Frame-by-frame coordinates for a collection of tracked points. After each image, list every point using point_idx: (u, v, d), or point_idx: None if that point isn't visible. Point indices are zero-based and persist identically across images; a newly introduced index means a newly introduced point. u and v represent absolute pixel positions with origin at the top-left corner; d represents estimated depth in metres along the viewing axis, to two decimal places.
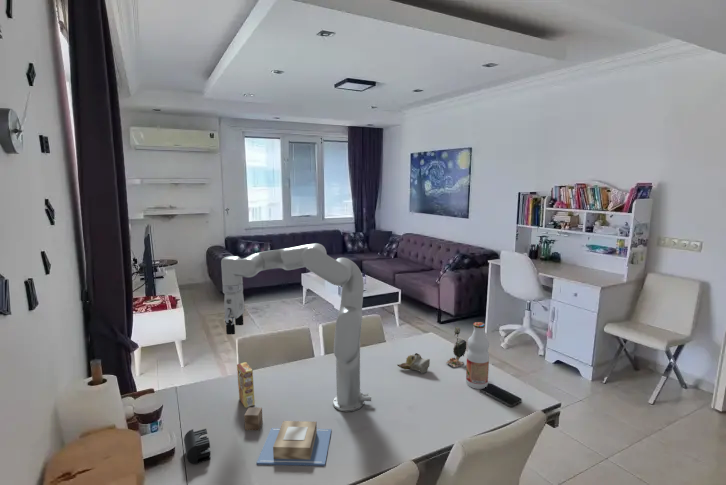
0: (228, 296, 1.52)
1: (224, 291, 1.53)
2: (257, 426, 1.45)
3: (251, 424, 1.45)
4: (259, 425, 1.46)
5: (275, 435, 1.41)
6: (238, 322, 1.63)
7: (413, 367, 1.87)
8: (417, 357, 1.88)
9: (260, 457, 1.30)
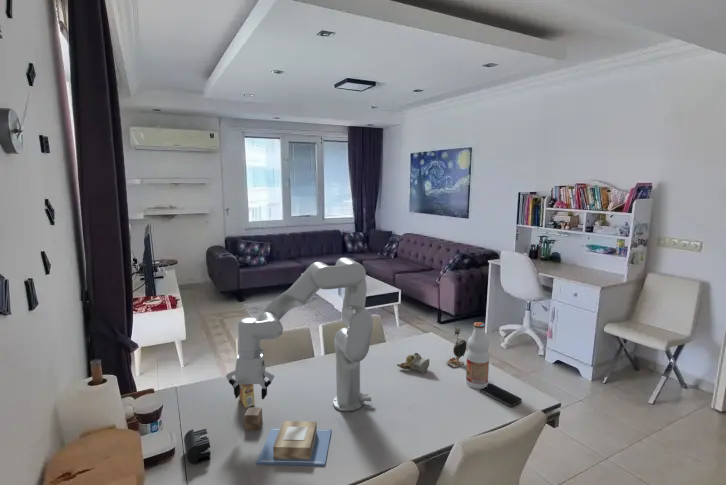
0: (262, 358, 1.43)
1: (255, 357, 1.41)
2: (257, 426, 1.45)
3: (251, 423, 1.45)
4: (259, 425, 1.46)
5: (275, 435, 1.41)
6: (238, 393, 1.45)
7: (413, 367, 1.88)
8: (417, 357, 1.88)
9: (260, 457, 1.30)
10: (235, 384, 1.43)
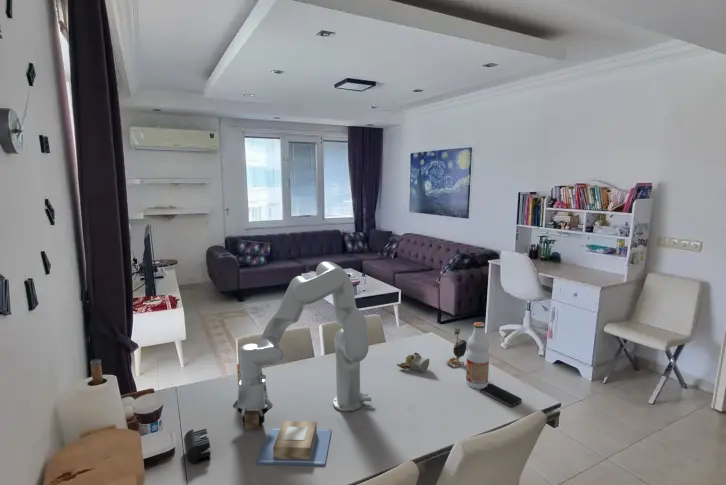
0: (263, 384, 1.44)
1: (257, 383, 1.42)
2: (257, 426, 1.45)
3: (251, 423, 1.45)
4: None
5: (275, 435, 1.41)
6: None
7: (413, 366, 1.88)
8: (417, 356, 1.88)
9: (260, 457, 1.30)
10: (244, 412, 1.45)
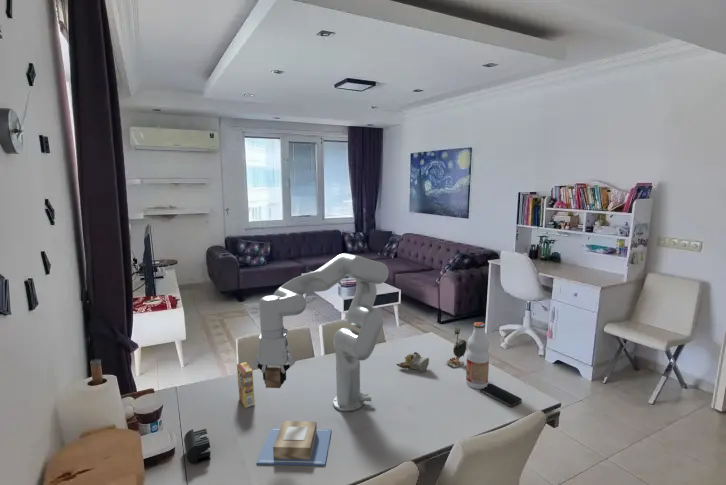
0: (285, 338, 1.35)
1: (279, 336, 1.33)
2: (278, 383, 1.35)
3: (272, 381, 1.35)
4: (280, 383, 1.36)
5: (275, 435, 1.41)
6: None
7: (412, 366, 1.88)
8: (416, 356, 1.89)
9: (260, 457, 1.30)
10: (264, 369, 1.36)
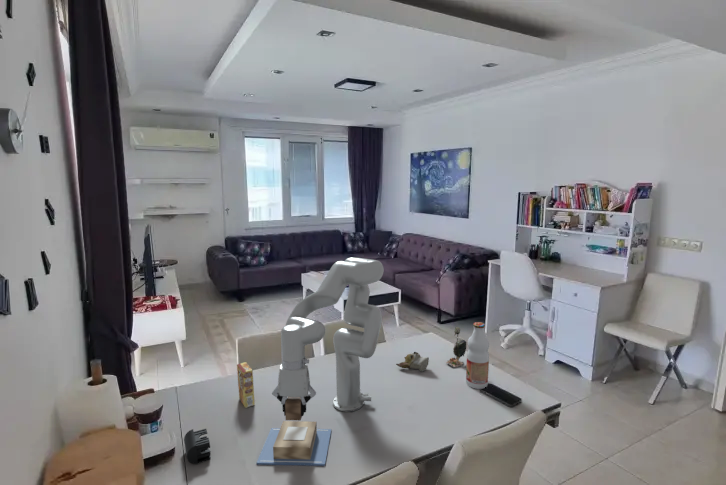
0: (307, 369, 1.31)
1: (300, 367, 1.29)
2: (299, 415, 1.31)
3: (292, 413, 1.31)
4: None
5: (275, 435, 1.41)
6: None
7: (412, 366, 1.89)
8: (416, 356, 1.89)
9: (260, 457, 1.30)
10: (284, 400, 1.32)
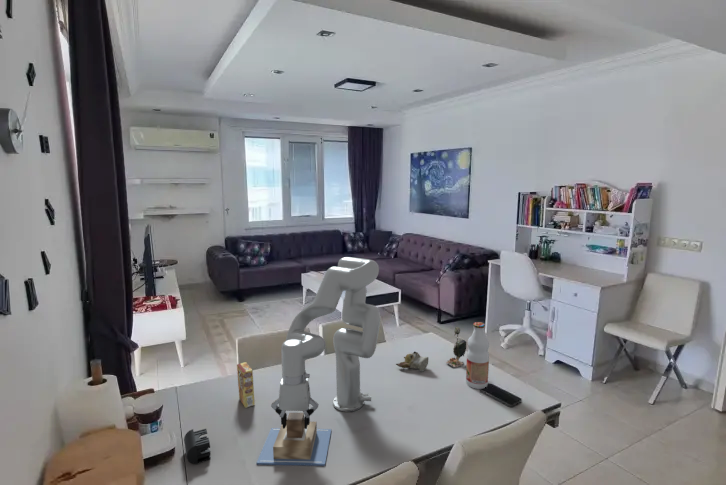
0: (307, 383, 1.32)
1: (301, 382, 1.30)
2: (300, 433, 1.32)
3: (293, 430, 1.32)
4: (302, 432, 1.34)
5: (275, 435, 1.41)
6: (285, 423, 1.35)
7: (412, 365, 1.89)
8: (416, 355, 1.89)
9: (260, 457, 1.30)
10: (282, 413, 1.33)
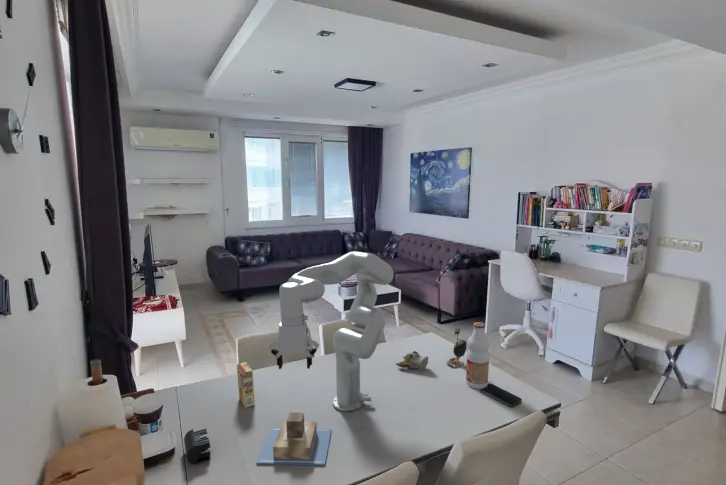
0: (306, 325, 1.33)
1: (300, 323, 1.31)
2: (300, 433, 1.32)
3: (293, 430, 1.32)
4: (302, 432, 1.34)
5: (275, 435, 1.41)
6: (281, 364, 1.36)
7: (412, 365, 1.89)
8: (416, 355, 1.90)
9: (260, 457, 1.30)
10: (278, 354, 1.34)
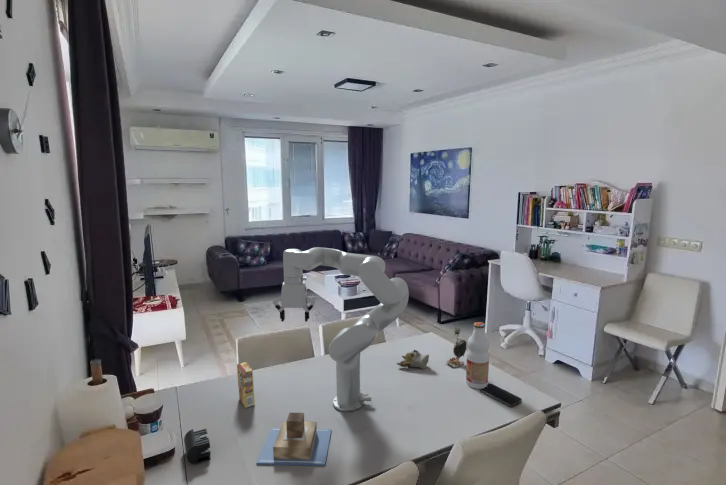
0: (304, 285, 1.60)
1: (299, 282, 1.58)
2: (300, 433, 1.32)
3: (293, 430, 1.32)
4: (302, 432, 1.34)
5: (275, 435, 1.41)
6: (283, 317, 1.62)
7: (413, 364, 1.91)
8: (416, 354, 1.91)
9: (260, 457, 1.30)
10: (281, 308, 1.61)
